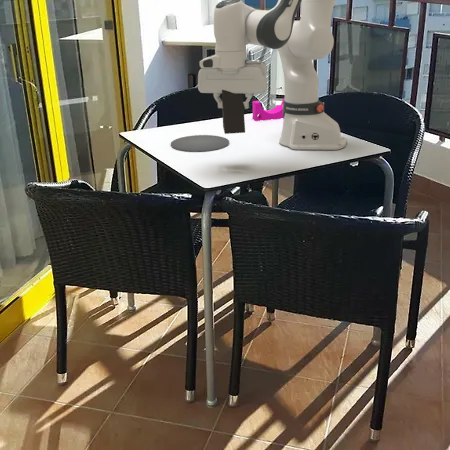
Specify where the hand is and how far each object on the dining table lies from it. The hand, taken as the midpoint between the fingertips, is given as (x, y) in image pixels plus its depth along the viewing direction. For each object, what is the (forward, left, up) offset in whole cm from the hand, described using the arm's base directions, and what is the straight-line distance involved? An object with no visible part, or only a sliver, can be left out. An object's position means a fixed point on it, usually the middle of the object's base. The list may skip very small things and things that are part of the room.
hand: (233, 108), depth 186 cm
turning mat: (+19, -22, -18) cm, 34 cm away
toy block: (+5, -63, -18) cm, 66 cm away
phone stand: (0, 0, -7) cm, 7 cm away
